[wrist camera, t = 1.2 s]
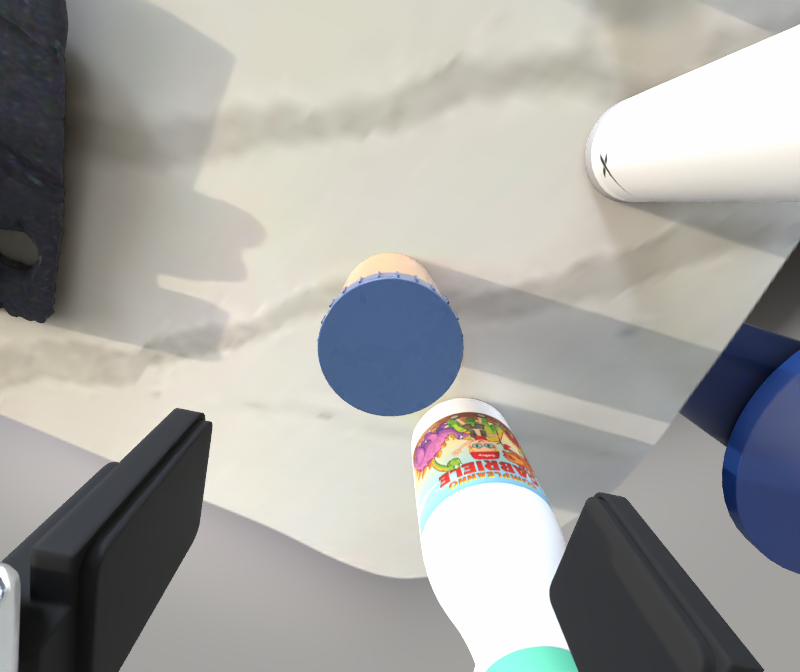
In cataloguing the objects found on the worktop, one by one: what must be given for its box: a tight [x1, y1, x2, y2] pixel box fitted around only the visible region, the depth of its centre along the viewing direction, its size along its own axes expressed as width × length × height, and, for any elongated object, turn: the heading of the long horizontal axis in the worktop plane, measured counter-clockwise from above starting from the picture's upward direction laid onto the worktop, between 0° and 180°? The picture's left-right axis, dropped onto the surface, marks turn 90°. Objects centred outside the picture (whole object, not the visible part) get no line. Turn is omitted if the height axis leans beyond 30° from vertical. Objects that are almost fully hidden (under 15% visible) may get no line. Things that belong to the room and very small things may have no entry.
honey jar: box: [340, 253, 441, 294], centre depth 26 cm, size 7×7×11 cm
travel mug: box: [585, 25, 800, 202], centre depth 19 cm, size 6×7×20 cm
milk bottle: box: [412, 398, 578, 672], centre depth 25 cm, size 8×8×20 cm
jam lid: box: [318, 271, 463, 416], centre depth 21 cm, size 7×7×2 cm
